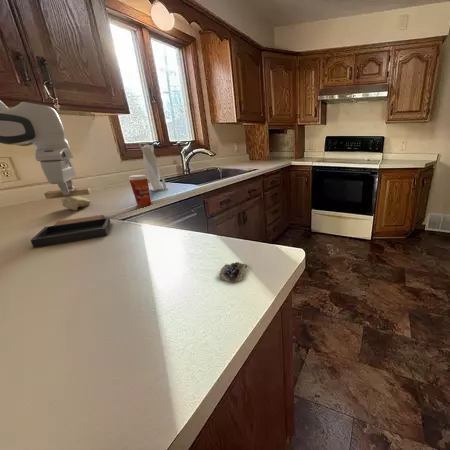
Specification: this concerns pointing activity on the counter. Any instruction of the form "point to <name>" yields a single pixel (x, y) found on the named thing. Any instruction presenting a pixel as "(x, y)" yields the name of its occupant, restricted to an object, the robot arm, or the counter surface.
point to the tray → (71, 232)
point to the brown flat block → (79, 220)
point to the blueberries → (232, 272)
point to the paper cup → (140, 189)
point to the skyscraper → (152, 168)
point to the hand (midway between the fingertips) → (69, 192)
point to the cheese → (74, 202)
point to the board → (72, 193)
